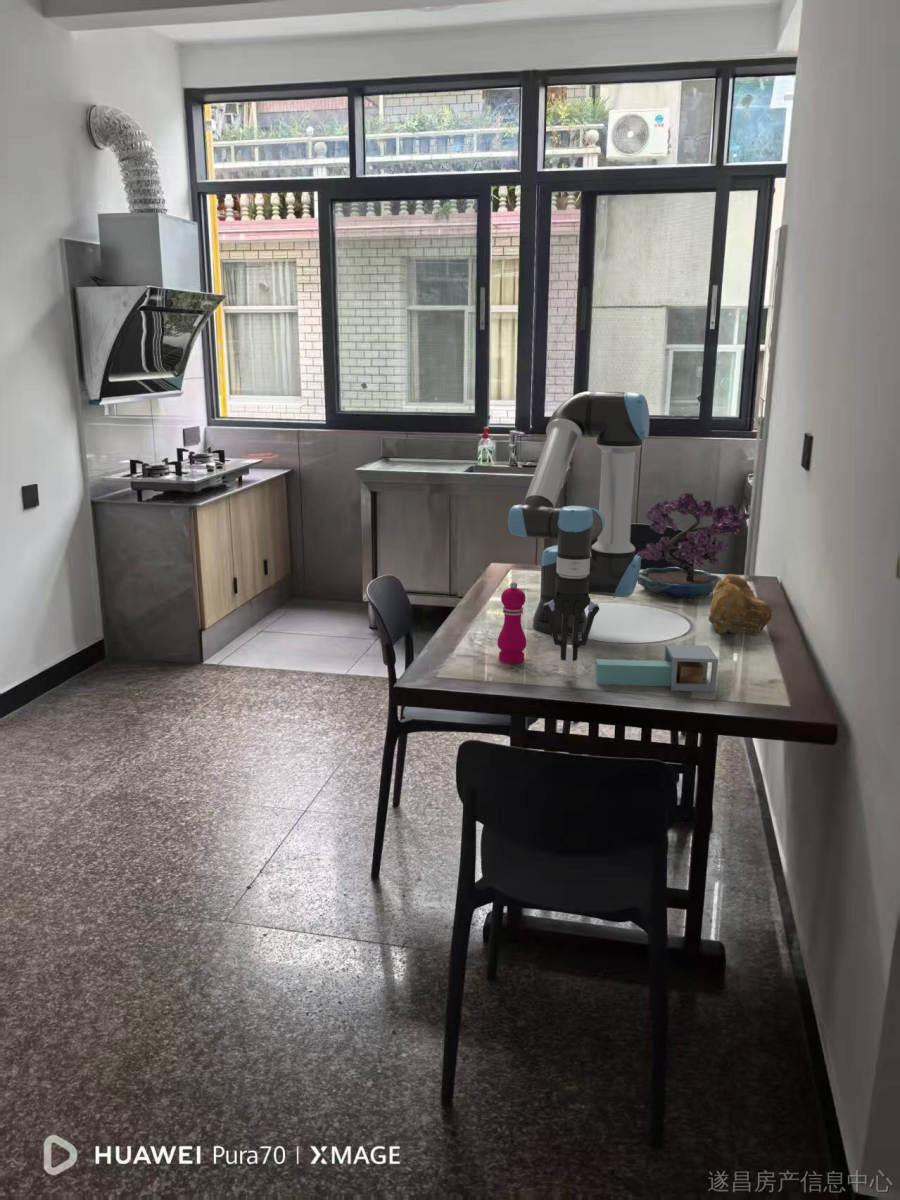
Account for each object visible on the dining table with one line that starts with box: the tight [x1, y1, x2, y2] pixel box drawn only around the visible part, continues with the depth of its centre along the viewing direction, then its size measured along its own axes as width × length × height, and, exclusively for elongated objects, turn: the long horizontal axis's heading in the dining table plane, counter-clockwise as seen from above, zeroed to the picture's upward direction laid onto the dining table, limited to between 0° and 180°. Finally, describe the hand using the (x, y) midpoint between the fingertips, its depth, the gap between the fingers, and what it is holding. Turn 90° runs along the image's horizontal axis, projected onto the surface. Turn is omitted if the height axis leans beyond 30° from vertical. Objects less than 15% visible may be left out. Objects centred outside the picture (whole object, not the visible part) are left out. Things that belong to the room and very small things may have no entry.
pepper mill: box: [496, 581, 527, 664], centre depth 226 cm, size 7×7×20 cm
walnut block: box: [676, 661, 704, 684], centre depth 212 cm, size 5×5×5 cm
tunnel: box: [663, 644, 719, 693], centre depth 212 cm, size 10×10×8 cm
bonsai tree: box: [635, 492, 751, 600], centre depth 293 cm, size 35×27×32 cm
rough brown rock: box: [708, 573, 773, 636], centre depth 254 cm, size 23×16×15 cm
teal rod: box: [594, 658, 672, 687], centre depth 213 cm, size 18×4×5 cm, turn 87°
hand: (568, 673), depth 213 cm, fingers closed
